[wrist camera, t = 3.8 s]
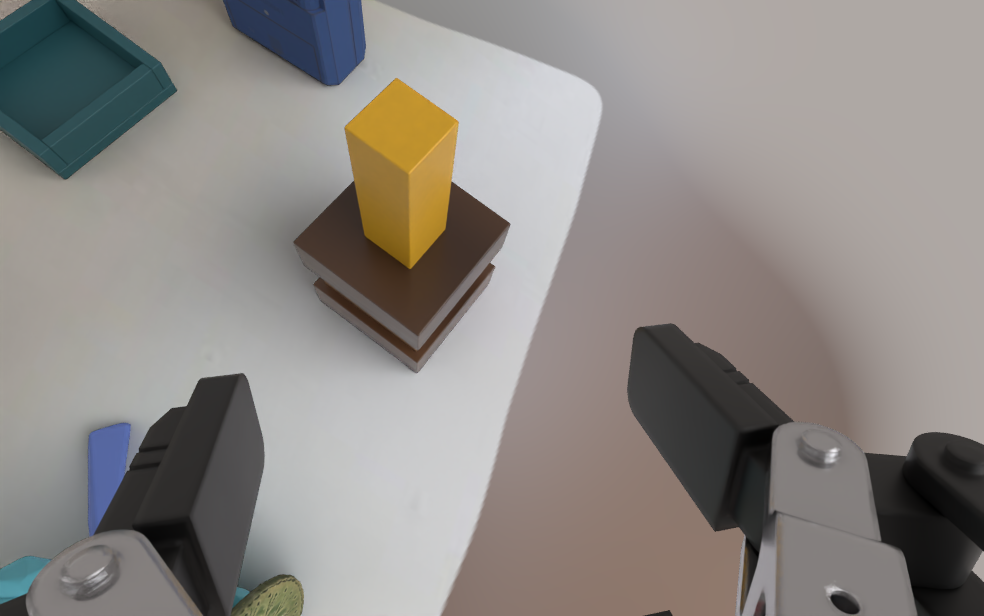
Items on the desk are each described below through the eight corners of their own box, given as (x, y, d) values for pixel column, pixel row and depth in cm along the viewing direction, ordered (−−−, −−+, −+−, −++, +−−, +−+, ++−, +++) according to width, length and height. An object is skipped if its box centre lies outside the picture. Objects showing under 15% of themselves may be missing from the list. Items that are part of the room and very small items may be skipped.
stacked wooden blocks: (417, 373, 36) (418, 336, 27) (320, 300, 36) (291, 242, 28) (489, 283, 38) (511, 223, 30) (398, 216, 39) (394, 139, 30)
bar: (410, 270, 28) (409, 174, 20) (364, 236, 28) (343, 126, 20) (446, 229, 29) (459, 121, 21) (400, 196, 29) (396, 76, 21)
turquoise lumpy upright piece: (12, 549, 33) (1, 848, 23) (-31, 443, 28) (-68, 763, 18) (215, 489, 39) (275, 705, 29) (207, 394, 34) (275, 614, 24)
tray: (65, 180, 36) (38, 156, 34) (-40, 98, 37) (-75, 68, 35) (177, 90, 40) (160, 62, 37) (78, 17, 40) (54, -16, 38)
